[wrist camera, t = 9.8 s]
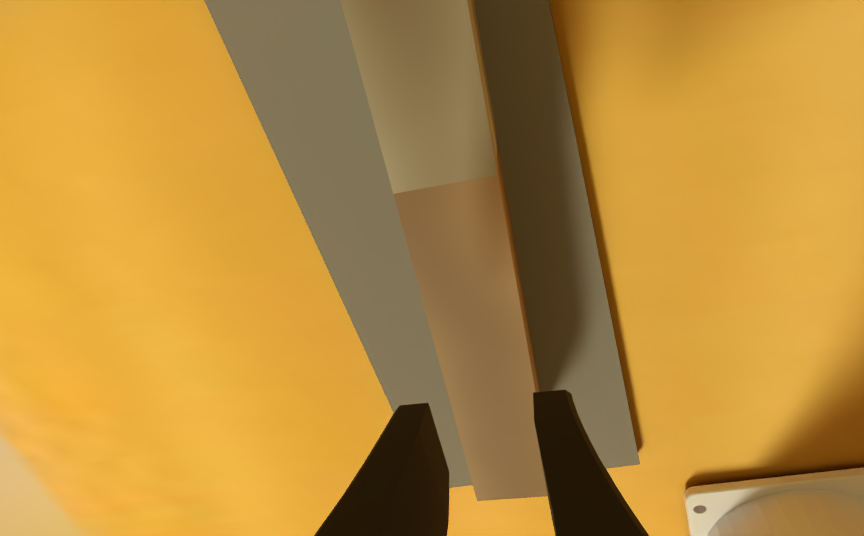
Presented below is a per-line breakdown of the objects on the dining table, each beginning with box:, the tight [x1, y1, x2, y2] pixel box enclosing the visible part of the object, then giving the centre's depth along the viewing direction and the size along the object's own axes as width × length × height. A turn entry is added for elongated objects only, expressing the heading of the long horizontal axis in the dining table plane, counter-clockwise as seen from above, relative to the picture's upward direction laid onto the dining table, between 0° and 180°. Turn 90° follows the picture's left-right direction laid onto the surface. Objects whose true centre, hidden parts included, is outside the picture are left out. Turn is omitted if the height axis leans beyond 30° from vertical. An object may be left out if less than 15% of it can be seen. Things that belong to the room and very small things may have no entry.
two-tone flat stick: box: [340, 0, 548, 501], centre depth 16 cm, size 2×16×4 cm, turn 13°
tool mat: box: [205, 0, 640, 488], centre depth 18 cm, size 22×9×1 cm, turn 18°
